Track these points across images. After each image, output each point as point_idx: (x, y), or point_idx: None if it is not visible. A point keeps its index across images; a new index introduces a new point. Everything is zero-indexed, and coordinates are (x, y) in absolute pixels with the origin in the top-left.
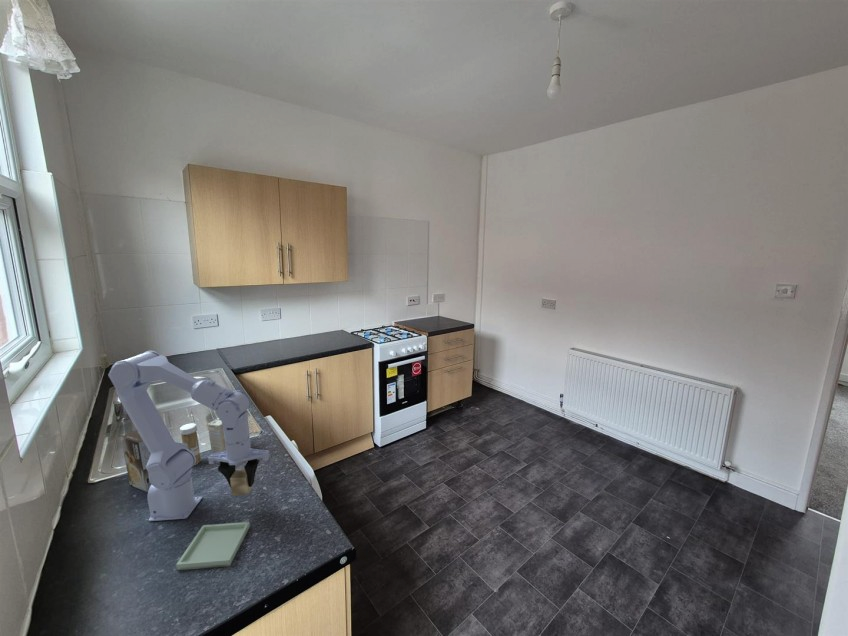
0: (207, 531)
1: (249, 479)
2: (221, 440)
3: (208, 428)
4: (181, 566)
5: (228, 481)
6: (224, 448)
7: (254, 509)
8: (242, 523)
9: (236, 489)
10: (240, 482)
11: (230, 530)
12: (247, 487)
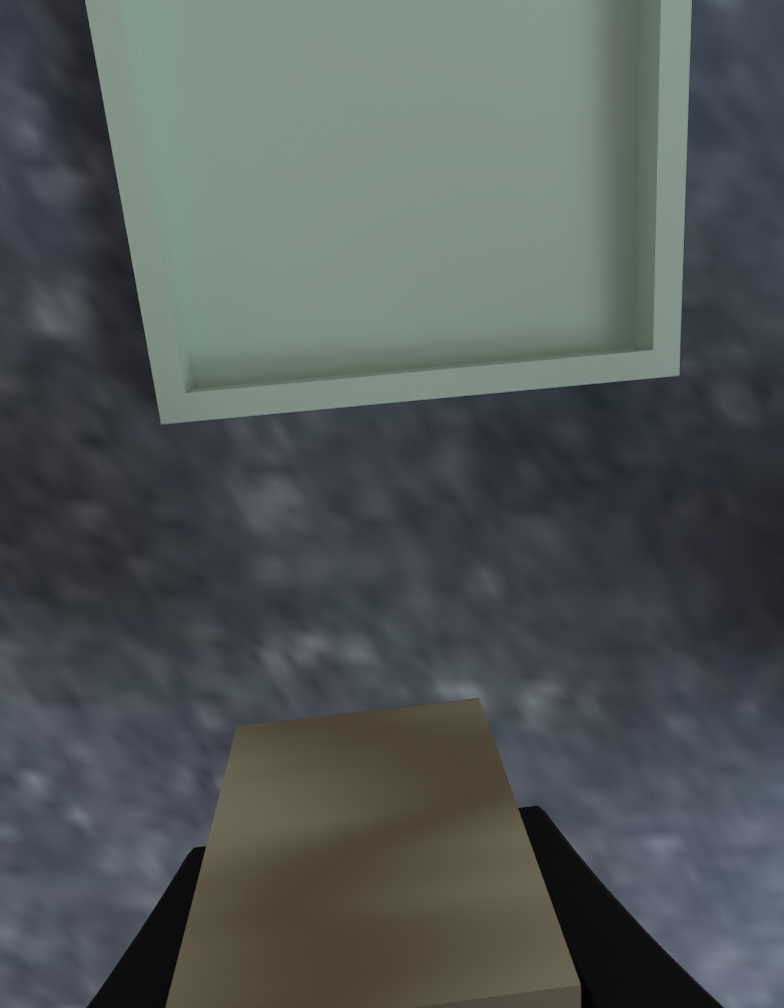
0: (596, 334)
1: (134, 986)
2: None
3: None
4: None
5: (605, 908)
6: None
7: (266, 652)
8: (231, 400)
9: (410, 771)
10: (325, 897)
11: (351, 345)
12: (221, 819)
